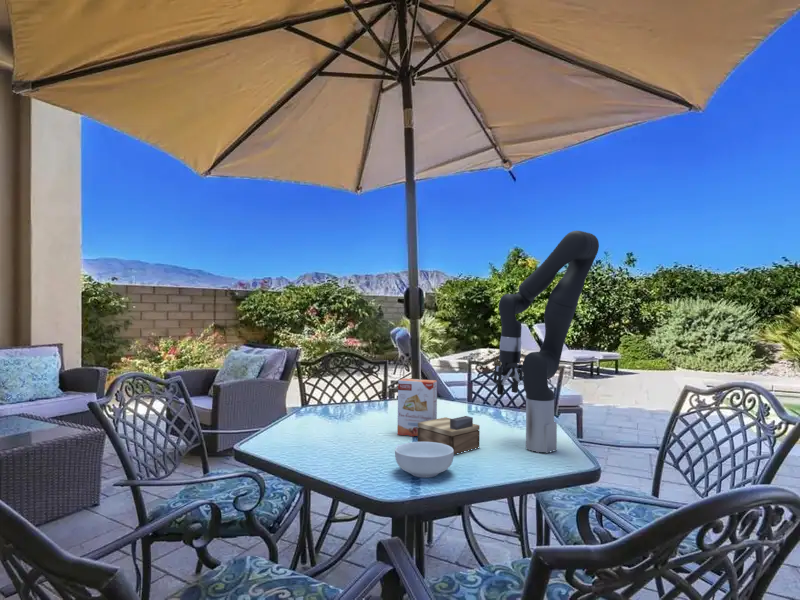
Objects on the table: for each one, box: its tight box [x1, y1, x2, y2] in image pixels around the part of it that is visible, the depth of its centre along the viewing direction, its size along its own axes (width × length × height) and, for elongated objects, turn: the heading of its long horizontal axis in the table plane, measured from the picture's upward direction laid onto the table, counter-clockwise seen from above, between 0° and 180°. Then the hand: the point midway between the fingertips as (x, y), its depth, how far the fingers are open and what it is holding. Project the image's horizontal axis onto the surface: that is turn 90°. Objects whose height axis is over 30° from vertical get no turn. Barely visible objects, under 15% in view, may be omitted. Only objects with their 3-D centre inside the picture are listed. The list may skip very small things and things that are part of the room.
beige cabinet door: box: [418, 415, 481, 436], centre depth 163 cm, size 16×14×4 cm
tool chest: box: [417, 428, 481, 455], centre depth 163 cm, size 16×14×6 cm
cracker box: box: [396, 377, 438, 437], centre depth 178 cm, size 14×6×21 cm, turn 71°
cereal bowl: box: [394, 441, 455, 479], centre depth 136 cm, size 17×17×7 cm
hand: (507, 393), depth 171 cm, fingers open, 8 cm apart
